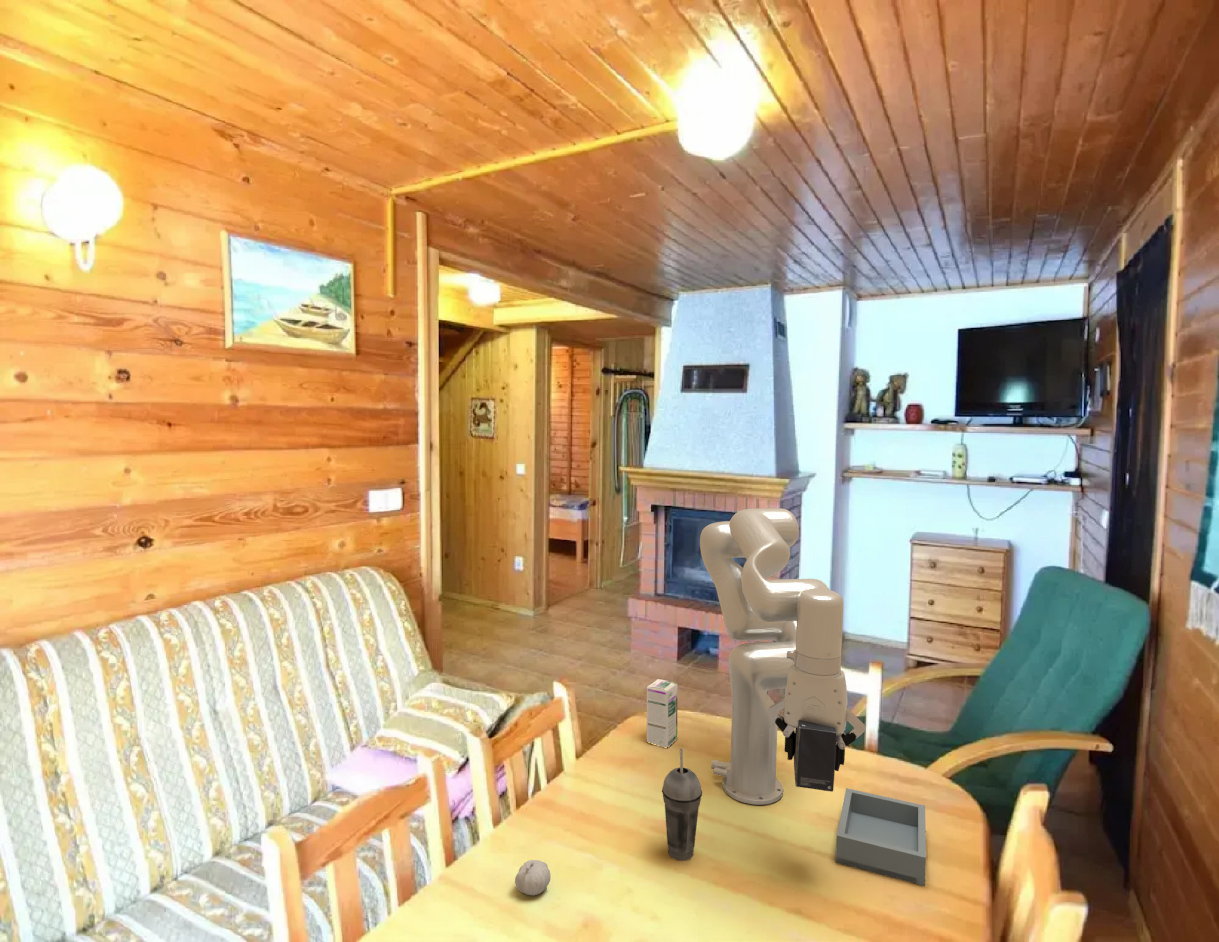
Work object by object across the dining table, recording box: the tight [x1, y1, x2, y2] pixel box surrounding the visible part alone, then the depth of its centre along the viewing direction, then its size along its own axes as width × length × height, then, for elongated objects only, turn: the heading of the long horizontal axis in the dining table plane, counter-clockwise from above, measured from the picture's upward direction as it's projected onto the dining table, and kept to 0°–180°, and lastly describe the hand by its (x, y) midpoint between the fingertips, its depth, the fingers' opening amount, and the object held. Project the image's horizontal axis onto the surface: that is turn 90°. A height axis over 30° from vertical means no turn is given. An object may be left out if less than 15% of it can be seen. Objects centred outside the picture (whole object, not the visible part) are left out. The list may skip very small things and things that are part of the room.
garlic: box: [514, 859, 551, 896], centre depth 112 cm, size 6×5×5 cm
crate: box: [835, 787, 927, 887], centre depth 125 cm, size 14×17×5 cm
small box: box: [793, 720, 837, 793], centre depth 117 cm, size 11×6×10 cm, turn 167°
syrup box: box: [646, 678, 678, 748], centre depth 165 cm, size 6×6×14 cm
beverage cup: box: [661, 747, 703, 862], centre depth 122 cm, size 7×7×20 cm
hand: (813, 761), depth 117 cm, fingers closed on small box, 7 cm apart
